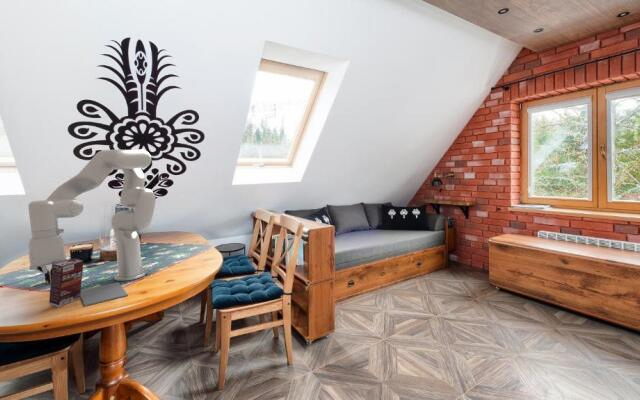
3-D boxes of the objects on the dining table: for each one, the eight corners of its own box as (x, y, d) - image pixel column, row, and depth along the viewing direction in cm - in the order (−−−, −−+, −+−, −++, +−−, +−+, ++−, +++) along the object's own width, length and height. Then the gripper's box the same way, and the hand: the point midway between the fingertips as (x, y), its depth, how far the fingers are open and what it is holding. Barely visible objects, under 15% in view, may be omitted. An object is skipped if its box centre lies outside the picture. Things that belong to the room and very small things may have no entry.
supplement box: (58, 307, 115) (62, 267, 113) (48, 304, 116) (51, 264, 113) (81, 298, 123) (84, 260, 121) (71, 295, 124) (74, 257, 122)
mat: (118, 283, 139) (118, 281, 139) (127, 295, 125) (127, 294, 125) (78, 291, 130) (78, 290, 130) (84, 306, 115) (84, 305, 115)
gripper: (70, 229, 122) (75, 275, 124) (17, 235, 112) (23, 284, 114) (72, 232, 117) (76, 279, 118) (16, 239, 107) (22, 290, 108)
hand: (50, 282), depth 116 cm, fingers closed
